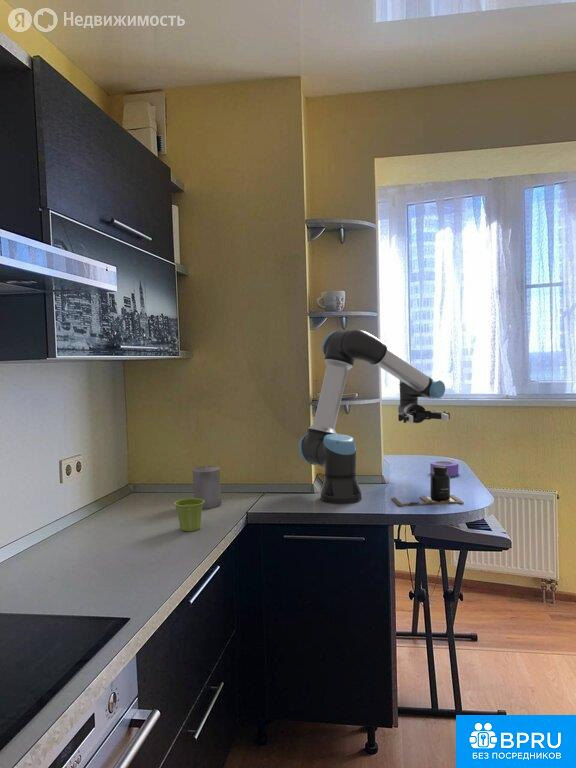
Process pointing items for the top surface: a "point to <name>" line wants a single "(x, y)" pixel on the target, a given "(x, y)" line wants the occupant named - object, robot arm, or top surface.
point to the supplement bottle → (440, 484)
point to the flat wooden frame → (429, 501)
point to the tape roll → (451, 466)
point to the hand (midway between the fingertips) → (430, 419)
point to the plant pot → (189, 513)
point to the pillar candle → (207, 485)
